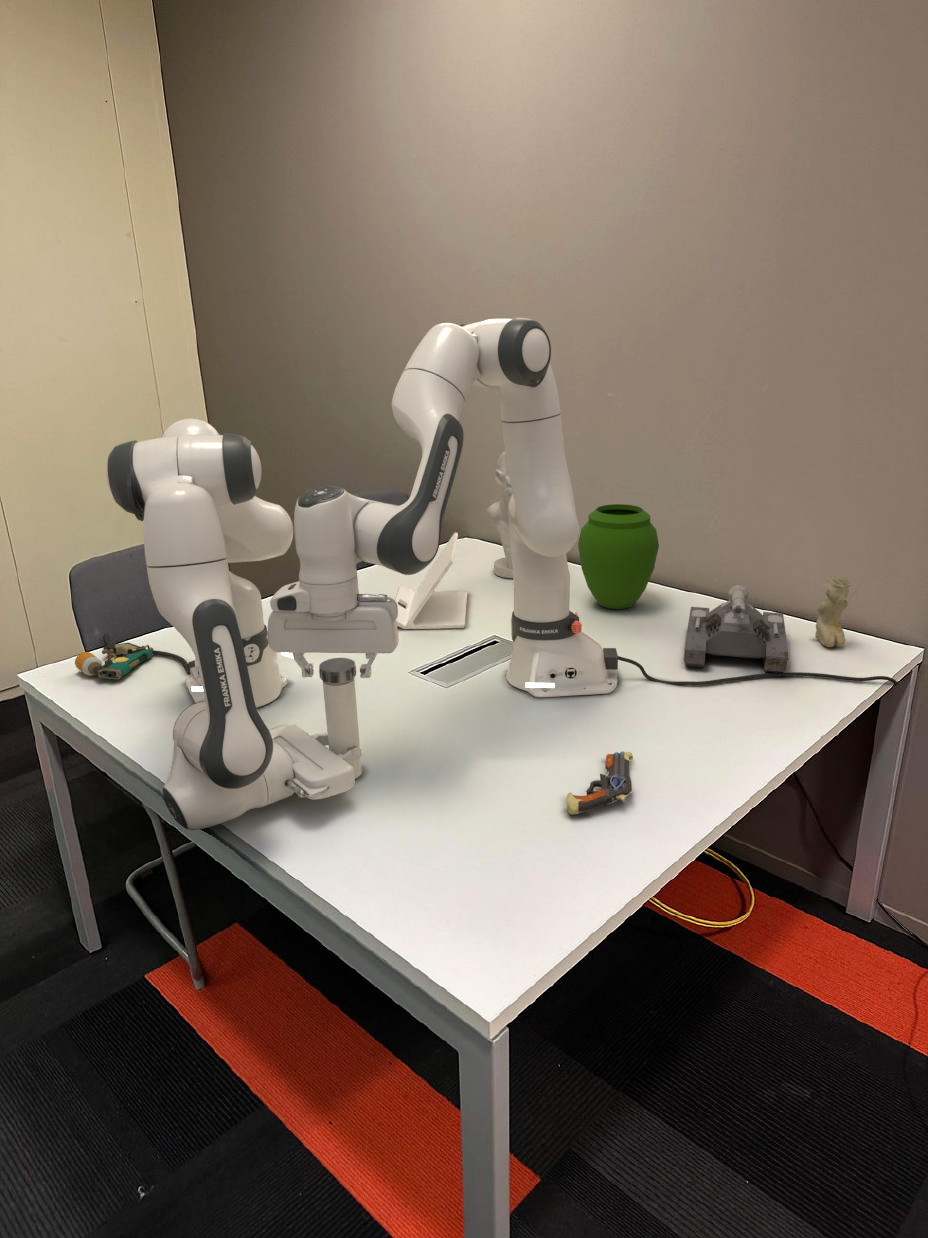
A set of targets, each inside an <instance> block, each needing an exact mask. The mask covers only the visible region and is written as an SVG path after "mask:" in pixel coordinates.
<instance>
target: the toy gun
mask: <svg viewBox="0 0 928 1238" xmlns="http://www.w3.org/2000/svg"><path fill="white" fill-rule="evenodd" d="M632 760H633V761H634V755H633V753H632V752H631V751H626V752H625V751H620V752H618V751H615V752H614V753H608V754H606V755H605V763H604V766H605V770H607V772H608V774H607V775H606V774H603V773H599V778H600V779H599V780H597V779H596V780H592V781H590V783H589V787H588V788H587V790H586V791H585V793H586V795H575V794H573V793H572V792H571V791H569V792H567V794H566V800H565V801H566V808H567V812H568V814H569V815H578V814H580V813H584V812H588V811H592V810H594V809H597V808H599V807H603V806H607V805H609V804H612V803H614V802H616V801H618V800H621V802H625V800H626V798H628V795H630V794H633V785H632V778H631V776H630V761H632ZM609 787H610V788H609ZM596 788H600V789H596Z"/></svg>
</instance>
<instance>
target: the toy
mask: <svg viewBox="0 0 928 1238" xmlns="http://www.w3.org/2000/svg"><path fill="white" fill-rule="evenodd" d="M727 597H728V600H727V601H725V602H722V603H721V604H719V605H718V606H716V607H715V608H713V609H712V610H710V607H700V606H690V610H689V617H688V622H687V629H686V636H685V643H684V653H683V661H684V666H685V667H693V668H704V667H705V661H706V654H708V655H711V656H723V657H735V658H744V659H745V658H746V659H762V658H763V673H764V672H765V673H784V672H787V668H788V662H789V646H788V639H787V631H786V623H785V617H784V613H782V612H772V611H771V612H770V611H763V612H762V613H761V612H760V611H759V610H758V609H757V608H756V607H755V606H754V605H752V604H750V603H749V602H748V599H749V591H748V589H747V587H745V586H744V585H742V584H741V585H740V584H736V585H735V584H734V586H732V587H731V588H730V589H729V590H728V594H727Z"/></svg>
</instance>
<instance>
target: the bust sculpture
mask: <svg viewBox="0 0 928 1238" xmlns="http://www.w3.org/2000/svg"><path fill="white" fill-rule="evenodd" d="M494 480H495V482H496V484H497V486H498V487H501V488H502V494H501V497H500V499H499V501H496V502H494V503H492V504H491V505H490V506H488V508H487V509H486V513H485V514H486V517H487V518H488V519H489V520H490V522H491V523H492V524H493V526H494V527H495V529H496V532H497V534H498V537H499V540H500V542H501V546H502V548H503V553H504V557H502V558H498V559H496V560H495V561H494V562H493V573H494V574H495V575H496V576H497V577H500V578H506V579H513V566H512V557H511V547H510V535H509V519H508V504H509V500H510V497H511V496H512V494H513V491H512V486H511V481H510V477H509V472H508V468H507V464H506V457H505V450H504V451H502V452H501V454H500V455H499V457H498V459H497V461H496V468H495V471H494Z"/></svg>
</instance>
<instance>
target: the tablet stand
mask: <svg viewBox="0 0 928 1238" xmlns="http://www.w3.org/2000/svg"><path fill="white" fill-rule="evenodd" d="M458 537H459V533H458V532H456V531H455V532H453V534H452V535H451V537H450V539H449V540H448V542H447V543H446V544H445V546H444V548H443V549H442V551H441V552H440V554H439V555H438V556H437V558H436V559H435V561H434V562H433V564H432V565H431V567H430V568H429V569H428V571H427V573H426V574H425V575H424V577H423V579H422V580H421V581H420V583H419V584H418V585H417V587H416V589H415V590H412V589H410V588H409V587H407V586H406V585H403V584H400V585H399V586H398V589H397V591H396V595H395V598H394V600H395V601H396V603H397V607H398V617H397V619H396V624H397V627H399V628H401V629H402V630H426V629H427V630H429V629H430V630H431V629H435V630H436V629H437V630H438V629H464V628H465V627H466V618H467V617H466V616H467V605H468V591H467V590H436V589H437V587H438V585H440V582H441V581H442V580H443V578H444V577H445V575H446V574H447V573H448V571H449V570H450V569H451V567H452V566H453V564H454V562H455V558H456V553H457V545H458ZM399 603H400V604H399ZM402 605H403V606H405V607H403V606H402Z"/></svg>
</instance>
